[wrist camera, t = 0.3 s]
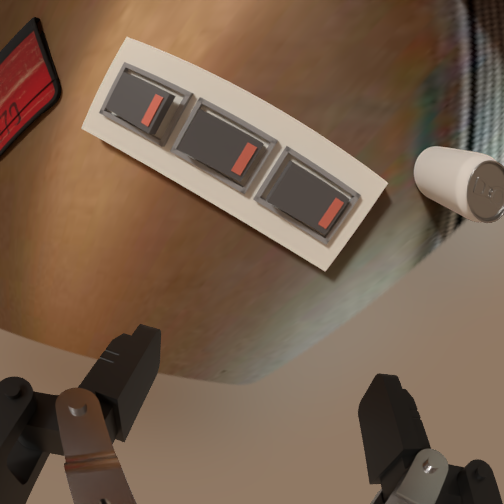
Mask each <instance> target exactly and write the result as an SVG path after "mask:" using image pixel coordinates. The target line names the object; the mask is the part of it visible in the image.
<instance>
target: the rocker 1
mask: <svg viewBox="0 0 504 504" xmlns="http://www.w3.org/2000/svg"><path fill="white" fill-rule="evenodd" d="M175 97H176V96H174V95H172V94H170V93H168V92H166V91H164V90H162V89H160V88H158V87H156V86H154V85H152V84H150V83H148V82H146V81H144V80H142V79H140V78H138V77H135V76H133V75H131V74H129V73H126V72H123V73H122V75H121V77H120V79H119V81H118V83H117V85H116V87H115V89H114V91H113V93H112V95H111V97H110V99H109V101H108V103H107V105H106V107H105V108H106V109H108V110H110V111H112V112H113V113H115V114H117V115H118V116H120V117H122V118H123V119H125V120H127V121H128V122H130V123H132V124H133V125H135V126H137V127H138V128H140V129H142V130H143V131H145V132H147V133H148V134H156V132H157V130H158V128H159V126H160V124H161V122H162V121H163V119H164V117H165V115H166V113H167V111H168V109H169V108H170V106H171V104H172V102H173V100H174V99H175Z"/></svg>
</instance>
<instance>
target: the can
mask: <svg viewBox="0 0 504 504" xmlns="http://www.w3.org/2000/svg"><path fill="white" fill-rule="evenodd" d="M414 178H415V182H416V185H417V187H418V189H419V190H420V191H421V193H422V194H424V195H425V196H426V197H428V198H430V199H432V200H433V201H435V202H437V203H439V204H441V205H443V206H445V207H447V208H448V209H450V210H452V211H454V212H456V213H458V214H459V215H461V216H463V217H465V218H467V219H469V220H471V221H474V222H484V223H492V222H495V221H497V220H498V219H500V218H501V217H502V216H503V215H504V166H503V165H501V164H500V163H498V162H497V161H496V160H495V159H493V158H492V157H490V156H488V155H485V154H481V153H477V152H471V151H466V150H460V149H454V148H447V147H439V146H434V147H429V148H427V149H425V150H424V151H423V152H422V153H421V154H420V155H419V156H418V158H417V160H416V163H415V167H414Z"/></svg>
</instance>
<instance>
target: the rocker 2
mask: <svg viewBox="0 0 504 504" xmlns="http://www.w3.org/2000/svg"><path fill="white" fill-rule="evenodd" d="M263 145H264V144H263V143H262V142H260V141H259V140H257V139H255V138H253V137H252V136H250V135H248V134H246V133H245V132H243V131H241V130H239V129H237V128H235V127H234V126H232V125H230V124H228V123H226V122H224V121H223V120H221V119H219V118H217V117H215V116H213V115H211V114H209V113H207V112H205V111H203V110H201V109H199V111H198V112H197V114H196V116H195V117H194V119H193V121H192V123H191V125H190V126H189V128H188V130H187V132H186V134H185V135H184V137H183V139H182V141H181V143H180V145H179V147H178V148H177V149H178V150H179V151H181V152H183V153H185V154H187V155H189V156H191V157H193V158H195V159H197V160H199V161H201V162H203V163H205V164H207V165H209V166H211V167H213V168H215V169H216V170H218V171H220V172H222V173H224V174H226V175H228V176H230V177H231V178H233V179H235V180H237V181H239V182H241V181H242V179H243V177H244V176H245V174H246V172H247V171H248V169H249V167H250V166H251V164H252V162H253V161H254V159H255V158H256V156H257V154H258V153H259V151H260V149H261V148H262V146H263Z"/></svg>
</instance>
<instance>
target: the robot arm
mask: <svg viewBox="0 0 504 504" xmlns="http://www.w3.org/2000/svg"><path fill="white" fill-rule="evenodd" d="M160 344H161V331H160V329H156V328H153V327H149V326H146V325H142V324H140V325H139V326H138V327H137V329H136V330H135V331H134V333H133V334H132V336H131V335H127V334H124V333H123V334H122V335H120V336H118V337H117V338H115V339H113V340H112V341H111V343H110V344H109V345H108V347H107V348H106V350H105V351H104V352H103V353H102V355H101V356H100V359H98V360H97V362H96V363H95V364H94V366H93V367H92V369H91V370H90V372H89V373H88V375H87V376H86V377H85V378H84V380H83V381H82V383H81V384H80V385H79V387H78V388H71V389H68V390H65V391H64V392H62V393H61V394H60V395H50V394H44V393H39V392H33V389H32V387H31V385H30V383H29V382H28V381H26V380H25V379H23V378H20V377H8V378H5V379H4V380H2V381H1V382H0V504H26V501H27V499H28V497H29V495H30V493H31V491H32V488H33V486H34V484H35V482H36V480H37V478H38V476H39V474H40V472H41V470H42V468H43V466H44V464H45V462H46V460H47V458H48V456H49V454H50V453H52V454H58V455H63V456H65V459H66V463H65V464H64V467H65V473H66V476H67V480H68V484H69V488H70V491H71V495H72V498H73V501H74V504H136V501H135V499H134V497H133V495H132V492H131V490H130V487H129V485H128V483H127V480H126V478H125V475H124V473H123V470H122V468H121V465H120V463H119V460H118V458H117V456H116V454H115V451H114V448H113V446H112V444H113V442H114V440H115V439H117V440H120V441H122V442H125V440H126V438H127V436H128V434H129V431H130V429H131V427H132V425H133V423H134V421H135V419H136V417H137V414H138V412H139V410H140V408H141V406H142V404H143V402H144V400H145V398H146V396H147V394H148V392H149V390H150V388H151V386H152V384H153V381H154V379H155V377H156V375H157V372H158V369H159V364H160ZM358 417H359V422H360V428H361V433H362V438H363V445H364V450H365V456H366V463H367V469H368V476H369V482H370V484H381V487H382V489H381V490H380V491H379V492H378V493H377V495H376V496H375V498H374V499H373V501H372V502H371V503H370V504H503V503H502V500H501V496H500V493H499V490H498V486H497V483H496V480H495V477H494V474H493V471H492V469H491V468H490V466H489V465H488V464H487V463H486V462H484V461H482V460H473V461H471V462H470V463H469V464H468V465H466V466H465V467H459V466H454V465H449V464H448V462H447V460H446V458H445V457H444V456H443V455H442V454H441V453H440V452H438V451H436V450H434V449H431V447H430V444H429V441H428V438H427V435H426V432H425V429H424V426H423V423H422V421H421V420H420V415H419V412H418V411H417V407H416V404H415V401H414V399H413V397H412V396H411V395H410V394H409V393H408V391H407V390H406V389H402V387H401V384H400V381H399V379H398V377H397V376H396V375H388V374H377V375H376V376H375V378H374V379H373V381H372V383H371V384H370V386H369V388H368V390H367V391H366V393H365V395H364V396H363V398H362V400H361V402H360V404H359V409H358Z"/></svg>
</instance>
